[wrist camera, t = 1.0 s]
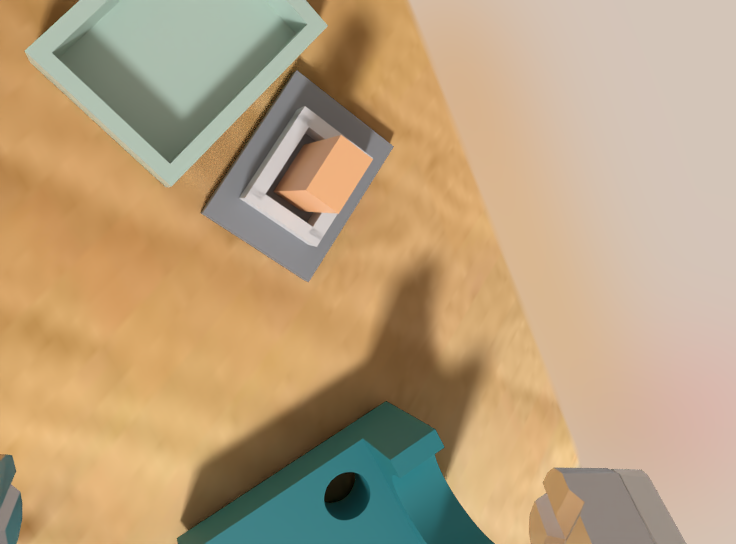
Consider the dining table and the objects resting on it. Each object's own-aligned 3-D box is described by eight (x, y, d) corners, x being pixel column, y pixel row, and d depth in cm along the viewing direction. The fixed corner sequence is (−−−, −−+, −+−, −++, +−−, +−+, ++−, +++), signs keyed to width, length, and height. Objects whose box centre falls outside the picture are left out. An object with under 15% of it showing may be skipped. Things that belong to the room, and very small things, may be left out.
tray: (30, 62, 42) (24, 51, 38) (197, -93, 44) (205, -116, 41) (166, 187, 45) (171, 186, 42) (312, 37, 48) (327, 25, 45)
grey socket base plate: (200, 212, 46) (206, 213, 44) (293, 72, 48) (304, 65, 45) (304, 280, 50) (316, 285, 47) (388, 147, 51) (404, 144, 48)
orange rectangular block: (273, 191, 47) (305, 190, 40) (303, 144, 48) (341, 135, 40) (301, 211, 48) (338, 213, 41) (331, 165, 49) (373, 159, 41)
